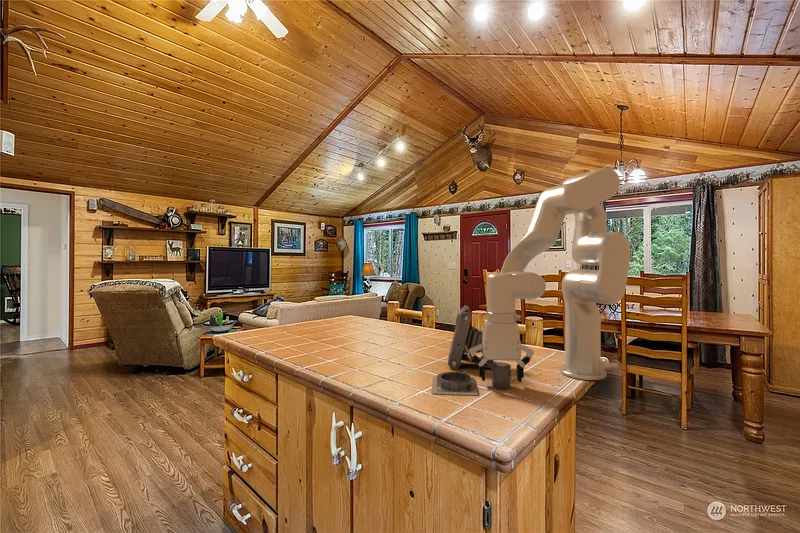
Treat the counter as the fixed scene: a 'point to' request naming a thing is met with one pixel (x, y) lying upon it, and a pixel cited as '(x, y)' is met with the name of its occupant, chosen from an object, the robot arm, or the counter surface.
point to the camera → (465, 340)
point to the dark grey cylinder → (501, 376)
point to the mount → (453, 384)
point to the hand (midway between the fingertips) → (501, 379)
